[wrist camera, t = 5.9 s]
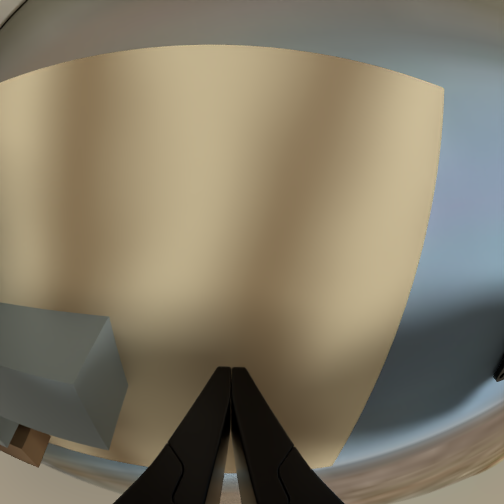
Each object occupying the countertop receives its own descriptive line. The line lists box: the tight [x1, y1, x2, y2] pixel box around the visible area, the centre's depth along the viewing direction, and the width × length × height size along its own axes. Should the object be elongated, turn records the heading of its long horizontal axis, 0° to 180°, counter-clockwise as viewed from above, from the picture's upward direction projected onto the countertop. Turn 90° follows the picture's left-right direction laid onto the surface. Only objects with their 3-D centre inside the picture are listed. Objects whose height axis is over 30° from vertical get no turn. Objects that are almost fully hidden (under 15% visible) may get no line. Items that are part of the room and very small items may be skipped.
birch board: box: [0, 45, 444, 473], centre depth 8 cm, size 22×18×3 cm
